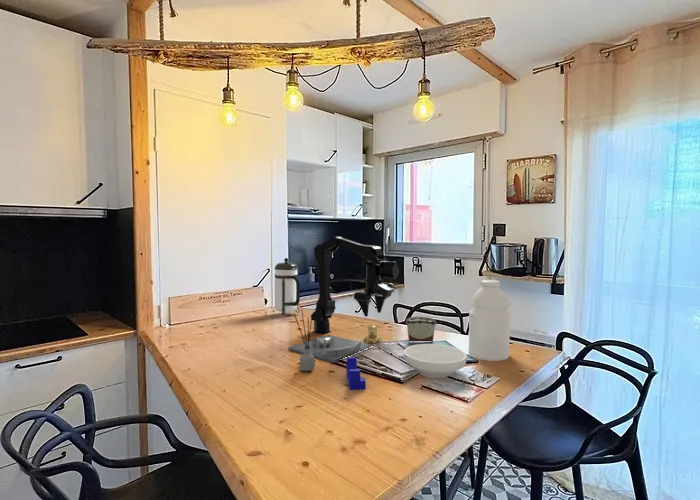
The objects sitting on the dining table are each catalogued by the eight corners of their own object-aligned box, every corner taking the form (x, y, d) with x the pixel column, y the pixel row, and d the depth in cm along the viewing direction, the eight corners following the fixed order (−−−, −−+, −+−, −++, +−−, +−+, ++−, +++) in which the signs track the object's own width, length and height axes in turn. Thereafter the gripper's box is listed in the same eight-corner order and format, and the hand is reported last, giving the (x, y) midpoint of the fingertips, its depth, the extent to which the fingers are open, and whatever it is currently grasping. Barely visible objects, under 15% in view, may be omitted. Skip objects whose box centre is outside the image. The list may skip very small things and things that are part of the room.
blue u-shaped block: (365, 391, 113) (365, 370, 112) (349, 391, 112) (350, 371, 112) (360, 375, 125) (360, 357, 124) (346, 376, 124) (346, 357, 124)
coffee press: (267, 315, 209) (267, 258, 208) (278, 309, 225) (277, 256, 224) (299, 316, 207) (299, 259, 205) (307, 310, 222) (307, 257, 221)
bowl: (429, 391, 112) (430, 367, 112) (391, 369, 130) (391, 348, 129) (480, 380, 121) (480, 357, 121) (438, 361, 139) (438, 341, 138)
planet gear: (359, 341, 162) (359, 326, 162) (370, 337, 168) (370, 323, 168) (374, 344, 157) (375, 329, 157) (385, 340, 163) (385, 326, 163)
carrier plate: (288, 349, 150) (288, 340, 150) (328, 337, 168) (328, 329, 168) (334, 363, 135) (334, 353, 135) (372, 347, 153) (373, 338, 153)
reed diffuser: (319, 373, 126) (320, 311, 125) (299, 377, 122) (299, 313, 121) (307, 363, 135) (307, 305, 133) (288, 367, 131) (288, 307, 130)
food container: (434, 340, 164) (435, 316, 163) (436, 345, 158) (436, 320, 157) (404, 339, 165) (405, 316, 164) (405, 343, 159) (405, 319, 158)
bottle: (461, 357, 142) (463, 280, 141) (478, 349, 152) (480, 277, 151) (499, 367, 133) (502, 284, 131) (515, 357, 143) (517, 280, 141)
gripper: (376, 280, 149) (375, 321, 150) (402, 276, 163) (401, 313, 164) (353, 278, 156) (352, 317, 157) (379, 274, 170) (379, 310, 171)
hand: (372, 314), depth 162 cm, fingers open, 9 cm apart
